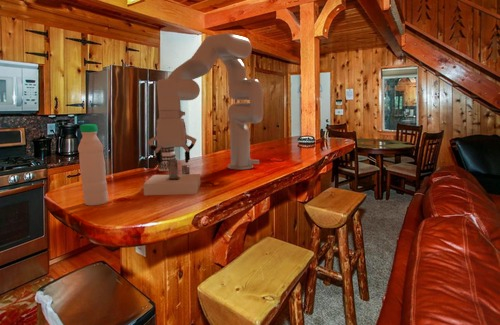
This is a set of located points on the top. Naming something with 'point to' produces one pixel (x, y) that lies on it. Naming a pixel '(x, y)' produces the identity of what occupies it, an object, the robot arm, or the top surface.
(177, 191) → the hole board
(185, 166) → the short pin
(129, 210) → the top surface
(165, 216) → the top surface
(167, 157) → the decorative candle
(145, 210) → the top surface
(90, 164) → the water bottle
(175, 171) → the long pin
